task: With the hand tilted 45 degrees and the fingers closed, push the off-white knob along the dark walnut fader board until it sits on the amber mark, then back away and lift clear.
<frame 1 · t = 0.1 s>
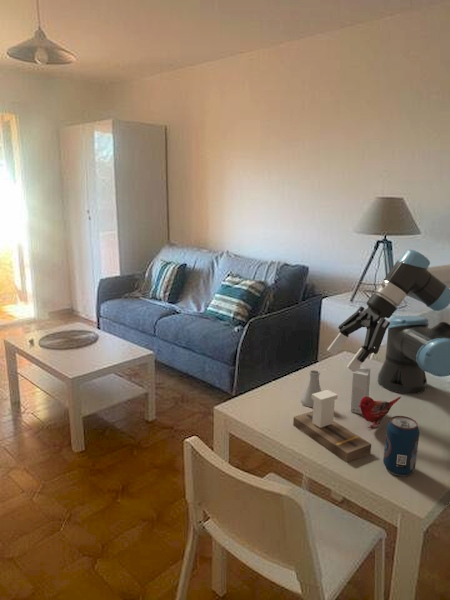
hand: (340, 360, 130), 15 cm above the table, tool tilted 35°, fingers open, 13 cm apart
skincare box: (358, 409, 135), on the table
decorative bird figurine: (378, 425, 126), on the table
fader knob: (323, 408, 119), point 7 cm above the table, slide at 0.0 cm
fader board: (329, 438, 119), on the table
flask: (312, 403, 138), on the table
soda can: (398, 469, 106), on the table
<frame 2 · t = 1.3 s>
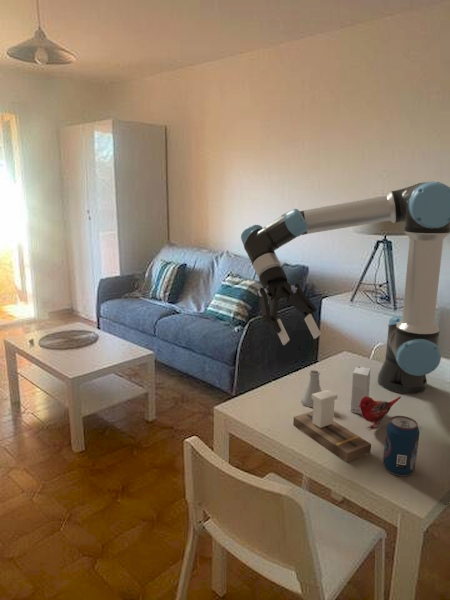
hand: (302, 339, 124), 23 cm above the table, tool tilted 45°, fingers open, 10 cm apart
nothing on the table moved.
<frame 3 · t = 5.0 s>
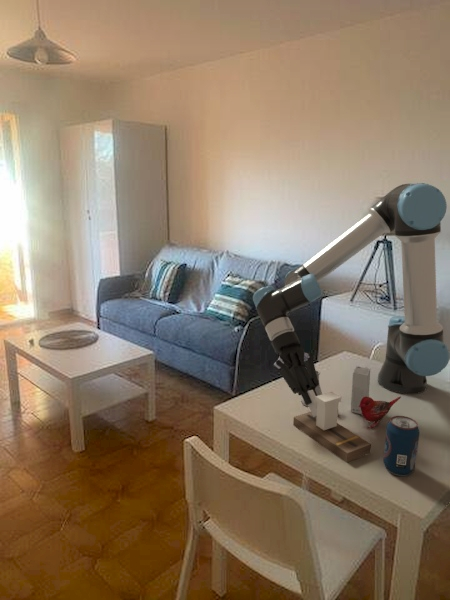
hand: (318, 414, 121), 5 cm above the table, tool tilted 45°, fingers closed
fader knob: (327, 411, 118), point 7 cm above the table, slide at 1.5 cm, touching gripper
everything else where it was.
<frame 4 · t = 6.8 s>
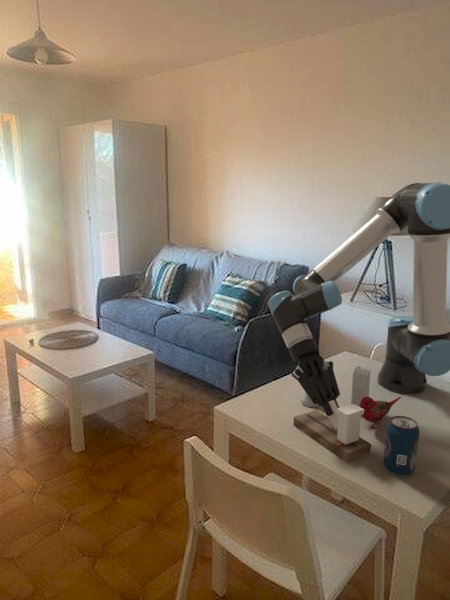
hand: (340, 426, 114), 5 cm above the table, tool tilted 45°, fingers closed
fader knob: (349, 424, 112), point 7 cm above the table, slide at 9.1 cm, touching gripper
everything else where it was.
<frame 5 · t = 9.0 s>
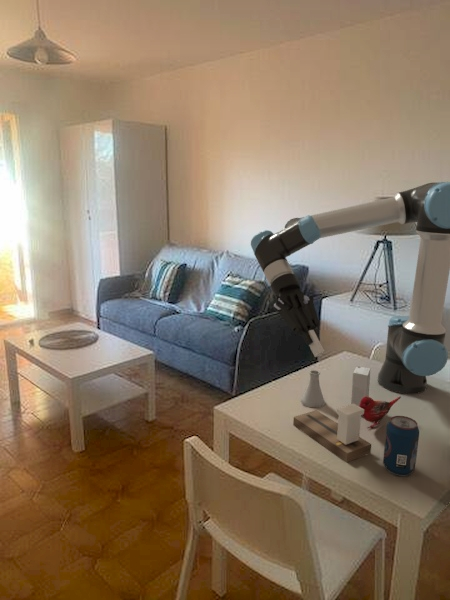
hand: (319, 354, 118), 21 cm above the table, tool tilted 45°, fingers closed
fader knob: (349, 424, 112), point 7 cm above the table, slide at 9.1 cm
everything else where it was.
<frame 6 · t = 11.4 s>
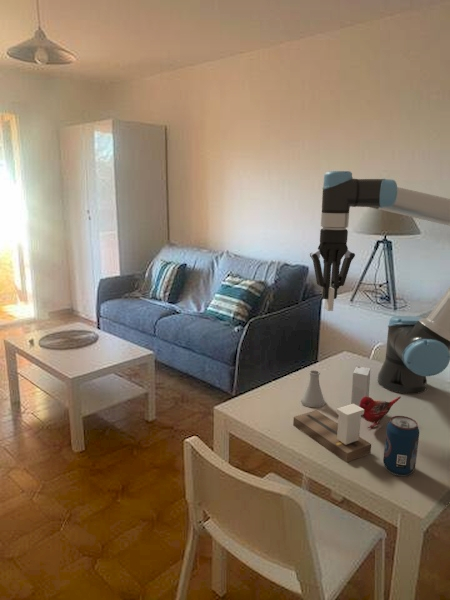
hand: (328, 309, 134), 28 cm above the table, tool pointing down, fingers closed
nothing on the table moved.
at the end: fader knob slide at 9.1 cm; decorative bird figurine moved 0.2 cm from its start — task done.
